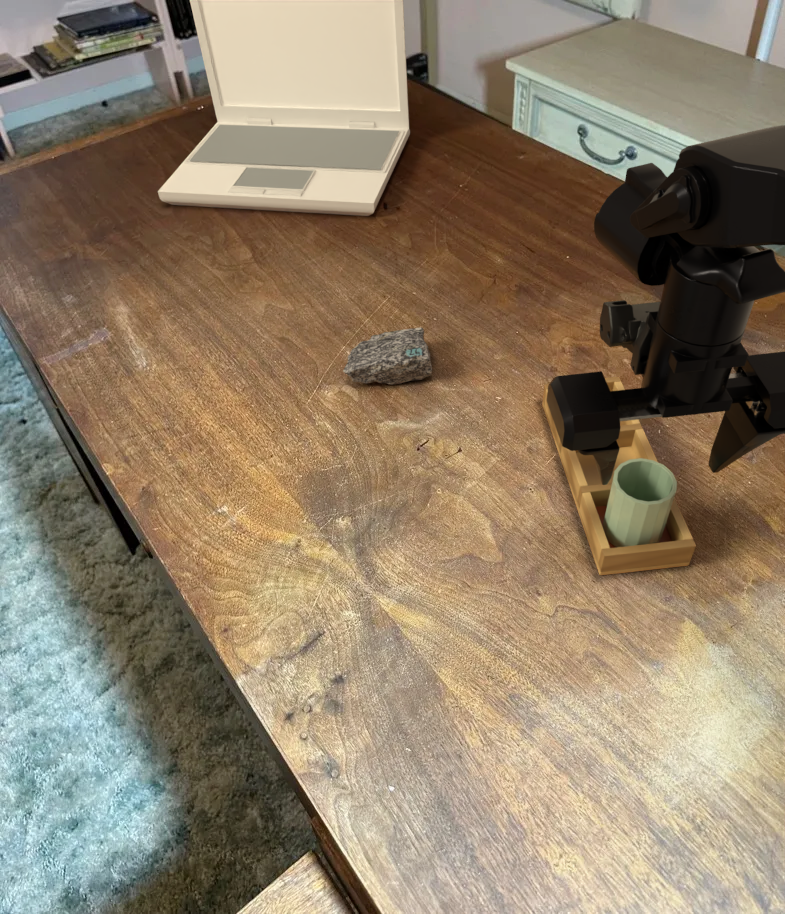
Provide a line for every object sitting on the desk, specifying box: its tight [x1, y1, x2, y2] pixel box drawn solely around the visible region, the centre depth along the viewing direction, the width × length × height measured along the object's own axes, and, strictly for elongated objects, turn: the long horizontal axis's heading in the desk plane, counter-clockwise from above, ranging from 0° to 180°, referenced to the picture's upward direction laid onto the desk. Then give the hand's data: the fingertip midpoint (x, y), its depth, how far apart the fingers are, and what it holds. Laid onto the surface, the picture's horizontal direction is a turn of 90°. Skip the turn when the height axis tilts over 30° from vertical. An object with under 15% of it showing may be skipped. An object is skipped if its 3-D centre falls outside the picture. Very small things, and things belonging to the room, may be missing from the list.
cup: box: [603, 458, 678, 547], centre depth 69 cm, size 5×5×7 cm
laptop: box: [157, 0, 411, 217], centre depth 116 cm, size 35×26×28 cm
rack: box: [541, 376, 697, 576], centre depth 76 cm, size 23×8×3 cm, turn 5°
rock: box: [342, 327, 433, 385], centre depth 89 cm, size 8×10×4 cm
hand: (657, 474), depth 63 cm, fingers open, 9 cm apart
